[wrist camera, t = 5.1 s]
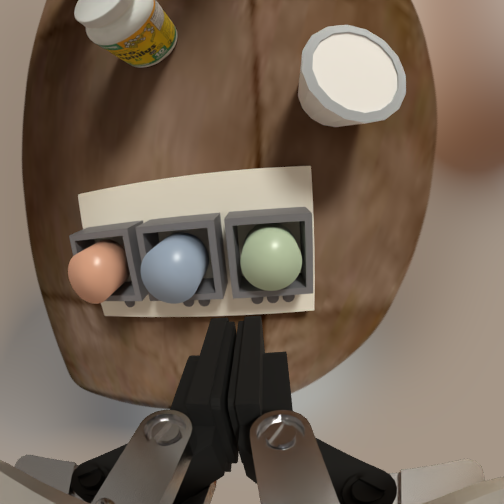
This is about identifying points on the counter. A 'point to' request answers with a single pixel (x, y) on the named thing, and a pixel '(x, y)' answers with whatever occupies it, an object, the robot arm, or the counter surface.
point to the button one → (98, 271)
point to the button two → (175, 267)
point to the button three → (270, 257)
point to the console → (204, 236)
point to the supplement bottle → (129, 29)
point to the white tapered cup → (349, 77)
